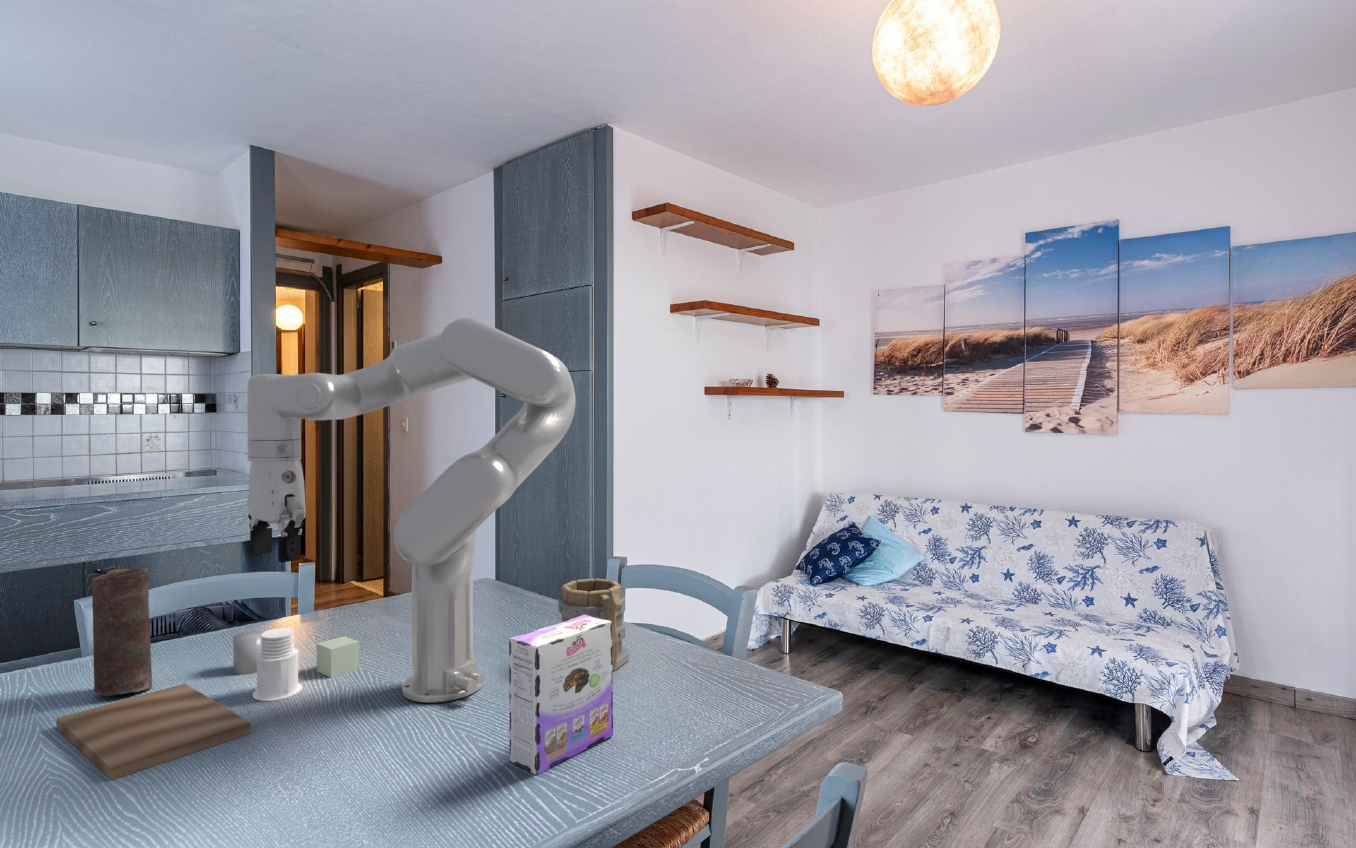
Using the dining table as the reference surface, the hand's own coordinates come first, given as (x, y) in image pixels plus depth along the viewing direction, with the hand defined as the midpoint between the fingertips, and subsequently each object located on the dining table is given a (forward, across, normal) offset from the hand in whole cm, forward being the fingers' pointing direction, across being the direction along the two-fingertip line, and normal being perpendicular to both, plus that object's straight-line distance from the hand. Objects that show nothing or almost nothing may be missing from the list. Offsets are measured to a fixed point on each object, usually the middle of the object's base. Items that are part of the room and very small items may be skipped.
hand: (275, 556), depth 114 cm
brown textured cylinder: (+22, +20, +15) cm, 33 cm away
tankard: (+22, -34, -39) cm, 57 cm away
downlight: (+22, 0, 0) cm, 22 cm away
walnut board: (+22, 0, +17) cm, 28 cm away
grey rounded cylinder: (+22, +15, -2) cm, 27 cm away
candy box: (+22, -51, -14) cm, 58 cm away
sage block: (+22, +2, -11) cm, 25 cm away
